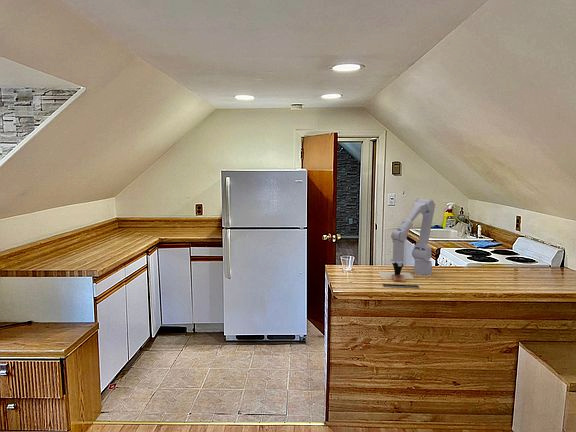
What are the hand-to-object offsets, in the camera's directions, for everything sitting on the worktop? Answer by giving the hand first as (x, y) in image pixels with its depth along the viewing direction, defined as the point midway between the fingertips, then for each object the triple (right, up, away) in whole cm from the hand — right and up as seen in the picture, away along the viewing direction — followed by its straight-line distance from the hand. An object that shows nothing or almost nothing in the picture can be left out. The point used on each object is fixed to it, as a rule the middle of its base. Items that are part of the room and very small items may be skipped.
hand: (397, 276), depth 230 cm
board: (+1, -1, +6) cm, 6 cm away
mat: (-1, -3, -8) cm, 8 cm away
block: (0, -2, -4) cm, 5 cm away
